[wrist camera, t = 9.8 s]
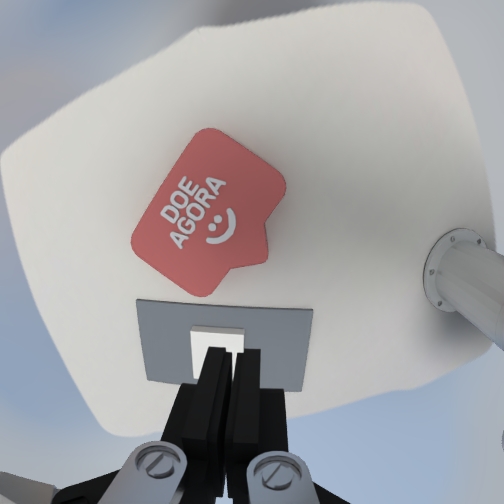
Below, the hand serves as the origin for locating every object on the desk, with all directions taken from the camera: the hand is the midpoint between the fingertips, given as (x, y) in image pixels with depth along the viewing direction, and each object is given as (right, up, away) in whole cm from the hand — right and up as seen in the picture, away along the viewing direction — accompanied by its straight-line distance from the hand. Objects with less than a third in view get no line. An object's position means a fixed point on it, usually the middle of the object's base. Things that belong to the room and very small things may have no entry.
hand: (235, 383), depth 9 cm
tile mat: (-4, -9, +32) cm, 34 cm away
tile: (-1, -10, +31) cm, 33 cm away
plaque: (-4, +8, +28) cm, 30 cm away
